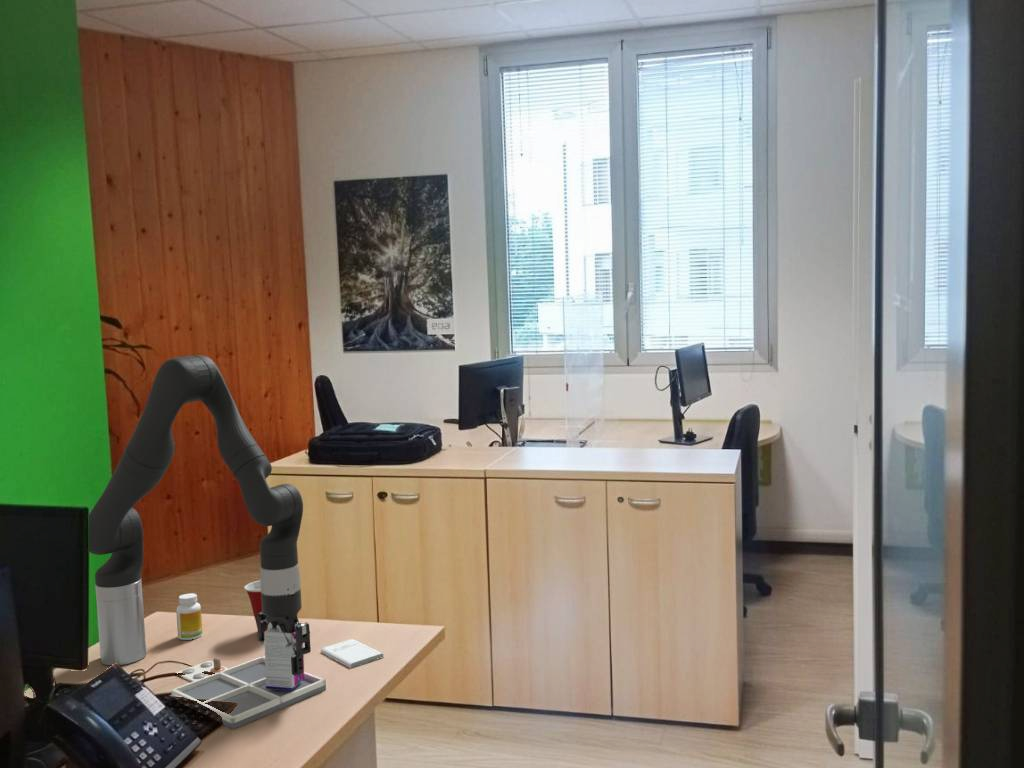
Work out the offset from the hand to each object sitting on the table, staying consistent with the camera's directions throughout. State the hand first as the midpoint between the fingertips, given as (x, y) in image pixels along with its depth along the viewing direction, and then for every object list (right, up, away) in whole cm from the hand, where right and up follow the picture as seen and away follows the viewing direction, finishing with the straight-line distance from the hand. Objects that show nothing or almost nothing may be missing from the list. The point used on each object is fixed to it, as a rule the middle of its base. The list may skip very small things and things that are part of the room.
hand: (285, 669), depth 178 cm
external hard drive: (+10, -4, +19) cm, 21 cm away
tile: (-20, -4, +11) cm, 23 cm away
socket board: (-7, -5, 0) cm, 9 cm away
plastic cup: (-12, -2, +35) cm, 37 cm away
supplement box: (0, -3, 0) cm, 3 cm away
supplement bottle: (-30, -3, +33) cm, 45 cm away
